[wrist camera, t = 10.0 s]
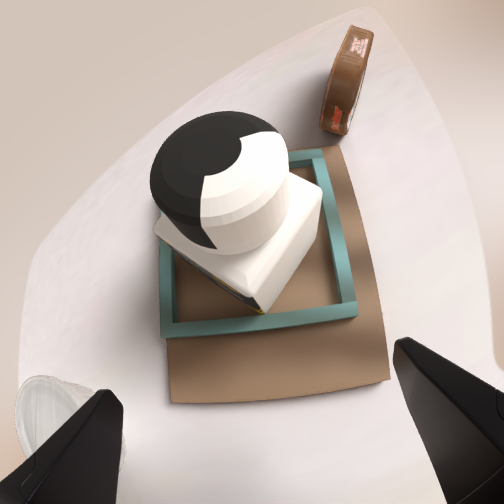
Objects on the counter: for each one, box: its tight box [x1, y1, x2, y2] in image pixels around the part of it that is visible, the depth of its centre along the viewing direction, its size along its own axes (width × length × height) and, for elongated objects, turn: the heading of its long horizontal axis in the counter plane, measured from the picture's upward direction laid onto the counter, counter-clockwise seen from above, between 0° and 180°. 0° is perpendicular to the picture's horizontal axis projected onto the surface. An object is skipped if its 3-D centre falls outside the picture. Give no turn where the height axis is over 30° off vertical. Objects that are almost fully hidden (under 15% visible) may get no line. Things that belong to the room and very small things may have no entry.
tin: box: [319, 25, 374, 135], centre depth 24 cm, size 15×3×8 cm, turn 157°
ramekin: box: [15, 375, 126, 471], centre depth 18 cm, size 11×11×5 cm
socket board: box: [159, 145, 391, 403], centre depth 22 cm, size 20×16×2 cm
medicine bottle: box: [150, 111, 322, 315], centre depth 17 cm, size 7×7×12 cm
